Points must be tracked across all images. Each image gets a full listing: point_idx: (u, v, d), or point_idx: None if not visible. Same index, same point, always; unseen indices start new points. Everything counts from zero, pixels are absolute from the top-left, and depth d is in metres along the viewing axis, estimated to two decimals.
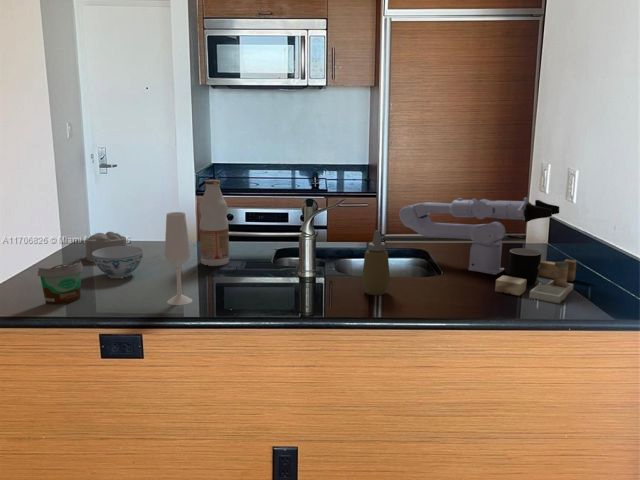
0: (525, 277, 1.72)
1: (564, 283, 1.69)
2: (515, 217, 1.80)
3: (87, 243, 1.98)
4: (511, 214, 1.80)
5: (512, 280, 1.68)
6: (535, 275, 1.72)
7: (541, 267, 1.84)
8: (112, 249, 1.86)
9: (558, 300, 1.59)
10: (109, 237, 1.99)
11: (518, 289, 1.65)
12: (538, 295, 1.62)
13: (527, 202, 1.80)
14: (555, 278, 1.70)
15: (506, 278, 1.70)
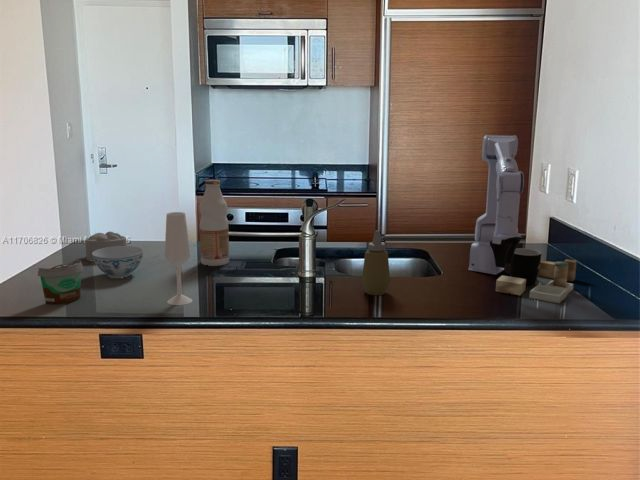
0: (525, 277, 1.72)
1: (564, 283, 1.69)
2: (496, 224, 1.59)
3: (87, 243, 1.98)
4: (499, 221, 1.57)
5: (512, 280, 1.68)
6: (535, 275, 1.72)
7: (541, 267, 1.84)
8: (112, 249, 1.86)
9: (558, 300, 1.59)
10: (109, 237, 1.99)
11: (519, 289, 1.65)
12: (538, 295, 1.62)
13: None
14: (555, 278, 1.70)
15: (506, 278, 1.70)
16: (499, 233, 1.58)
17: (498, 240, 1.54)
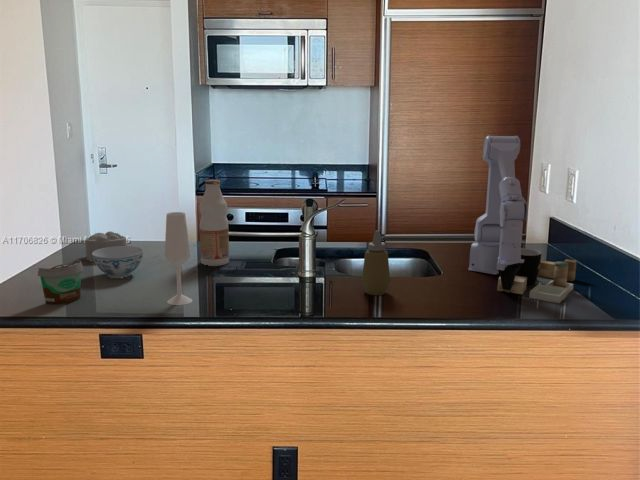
0: None
1: (564, 283, 1.69)
2: (500, 251, 1.64)
3: (87, 243, 1.98)
4: (503, 248, 1.63)
5: None
6: (535, 275, 1.72)
7: (541, 267, 1.84)
8: (112, 249, 1.86)
9: (558, 300, 1.59)
10: (109, 237, 1.99)
11: (521, 287, 1.66)
12: (538, 295, 1.62)
13: None
14: (555, 278, 1.70)
15: None
16: (503, 259, 1.63)
17: (502, 266, 1.59)
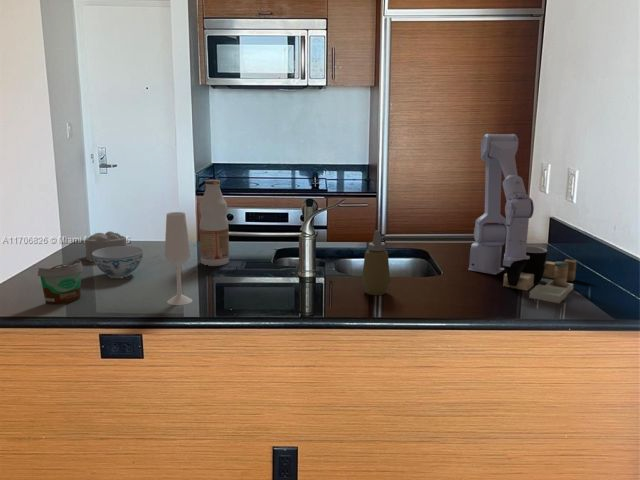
0: None
1: (564, 283, 1.69)
2: (506, 247, 1.68)
3: (87, 243, 1.98)
4: (509, 245, 1.67)
5: (520, 275, 1.73)
6: (541, 272, 1.76)
7: None
8: (112, 249, 1.86)
9: (558, 300, 1.59)
10: (109, 237, 1.99)
11: (526, 284, 1.70)
12: (538, 295, 1.62)
13: None
14: (555, 278, 1.70)
15: None
16: (509, 256, 1.67)
17: (508, 263, 1.63)
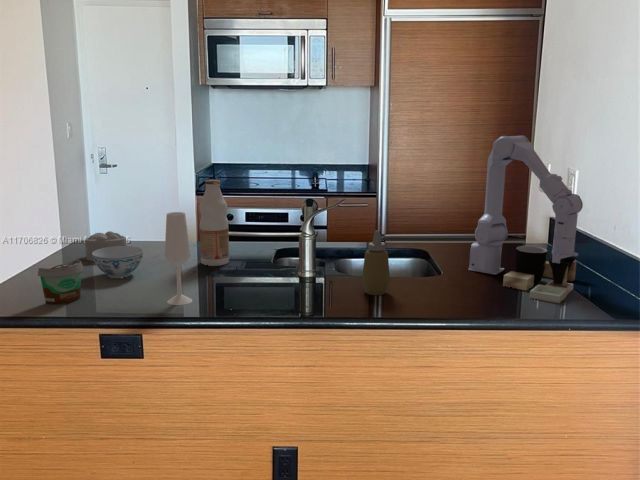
0: (532, 274, 1.75)
1: (564, 283, 1.69)
2: (554, 244, 1.68)
3: (87, 243, 1.98)
4: (557, 242, 1.67)
5: (520, 276, 1.73)
6: (541, 272, 1.76)
7: None
8: (112, 249, 1.86)
9: (558, 300, 1.59)
10: (109, 237, 1.99)
11: (525, 284, 1.70)
12: (538, 295, 1.62)
13: None
14: None
15: (514, 274, 1.75)
16: (557, 252, 1.67)
17: (558, 259, 1.63)
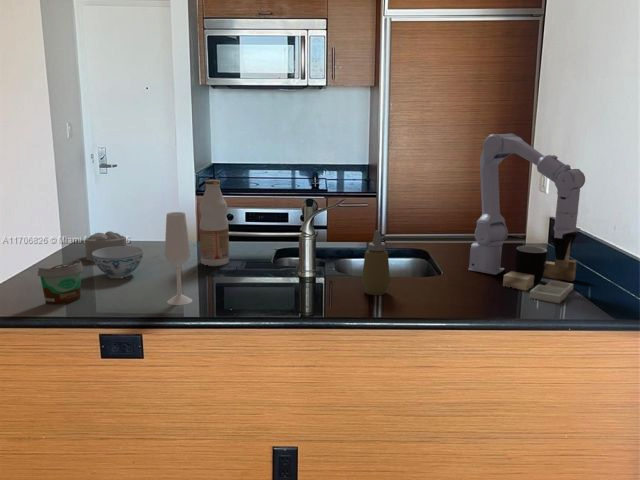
0: (532, 274, 1.75)
1: (566, 259, 1.68)
2: (556, 220, 1.66)
3: (87, 243, 1.98)
4: (560, 217, 1.65)
5: (520, 276, 1.73)
6: (541, 272, 1.76)
7: None
8: (112, 249, 1.86)
9: (558, 300, 1.59)
10: (109, 237, 1.99)
11: (525, 284, 1.70)
12: (538, 295, 1.62)
13: None
14: None
15: (514, 274, 1.75)
16: (559, 228, 1.65)
17: (560, 234, 1.61)
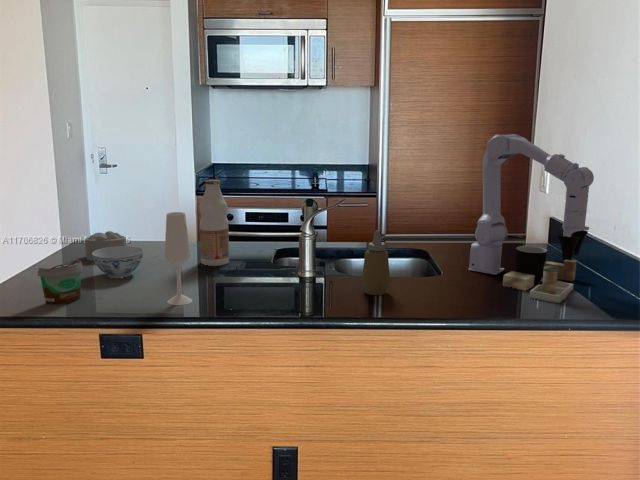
0: (532, 274, 1.75)
1: (553, 289, 1.62)
2: (565, 218, 1.66)
3: (87, 243, 1.98)
4: (568, 215, 1.65)
5: (520, 276, 1.73)
6: (541, 272, 1.76)
7: None
8: (112, 249, 1.86)
9: (558, 300, 1.59)
10: (109, 237, 2.00)
11: (524, 284, 1.70)
12: (538, 295, 1.62)
13: None
14: (544, 283, 1.63)
15: (514, 274, 1.75)
16: (568, 226, 1.65)
17: (569, 233, 1.61)
